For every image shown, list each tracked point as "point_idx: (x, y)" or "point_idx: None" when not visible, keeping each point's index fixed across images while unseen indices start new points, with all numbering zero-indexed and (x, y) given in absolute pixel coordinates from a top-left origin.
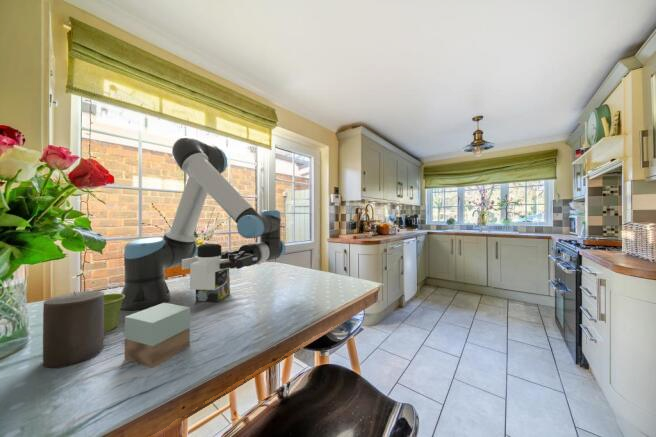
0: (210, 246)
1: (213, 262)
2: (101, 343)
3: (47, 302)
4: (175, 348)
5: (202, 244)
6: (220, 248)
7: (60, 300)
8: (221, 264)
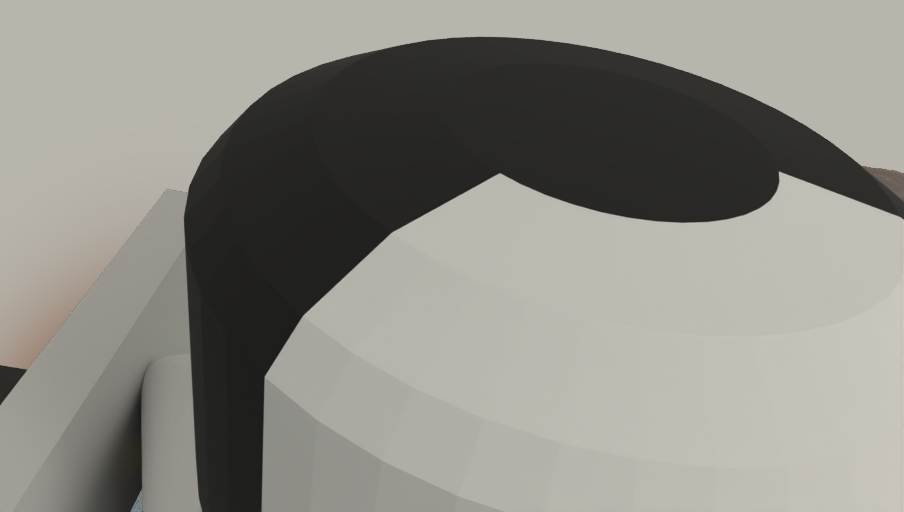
0: (363, 56)
1: (130, 243)
2: None
3: (896, 173)
4: None
5: (784, 121)
6: (189, 304)
7: (893, 189)
8: (9, 377)
